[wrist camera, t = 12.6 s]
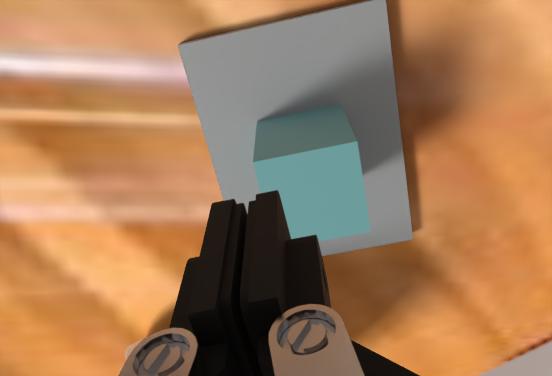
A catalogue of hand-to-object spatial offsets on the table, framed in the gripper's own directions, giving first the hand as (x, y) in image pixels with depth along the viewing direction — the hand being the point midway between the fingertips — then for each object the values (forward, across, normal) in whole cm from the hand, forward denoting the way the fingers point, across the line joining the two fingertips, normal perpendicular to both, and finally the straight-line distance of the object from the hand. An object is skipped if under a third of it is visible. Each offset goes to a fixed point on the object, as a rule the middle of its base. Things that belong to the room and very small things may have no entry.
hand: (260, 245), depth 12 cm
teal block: (+18, -1, +6) cm, 19 cm away
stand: (+19, -1, +6) cm, 20 cm away
